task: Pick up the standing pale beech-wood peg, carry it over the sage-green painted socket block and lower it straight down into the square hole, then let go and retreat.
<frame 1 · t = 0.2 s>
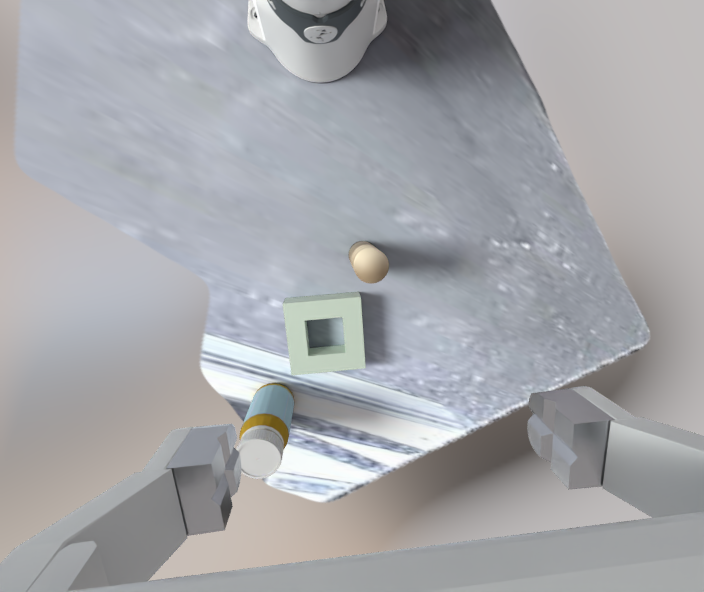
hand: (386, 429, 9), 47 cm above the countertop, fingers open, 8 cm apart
peg: (362, 254, 55), on the countertop
socket: (325, 329, 58), on the countertop
bottle: (274, 399, 61), on the countertop
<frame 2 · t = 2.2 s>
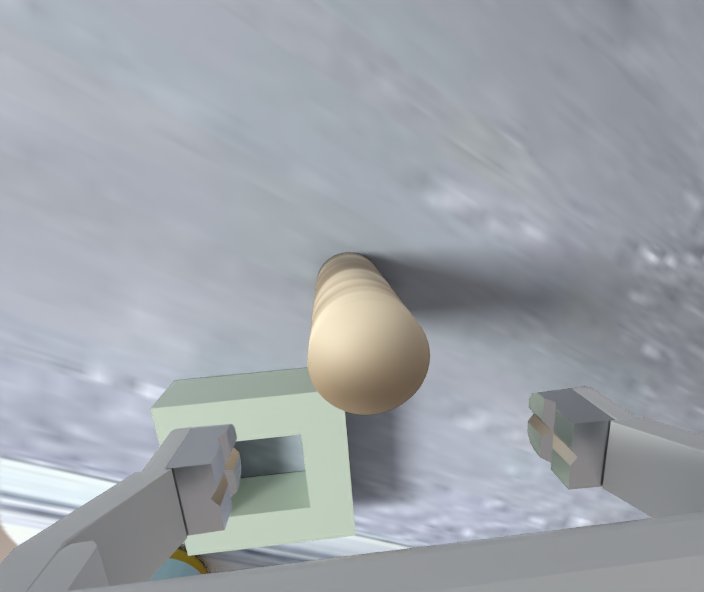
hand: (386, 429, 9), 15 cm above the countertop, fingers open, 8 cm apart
peg: (348, 284, 24), on the countertop
socket: (269, 442, 27), on the countertop
bottle: (170, 572, 30), on the countertop
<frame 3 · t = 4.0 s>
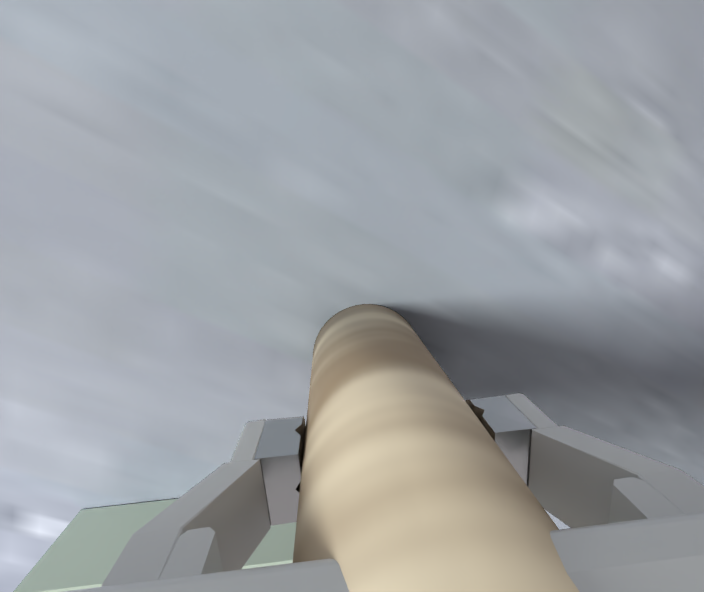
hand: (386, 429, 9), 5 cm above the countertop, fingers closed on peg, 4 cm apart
peg: (366, 355, 14), on the countertop, touching gripper
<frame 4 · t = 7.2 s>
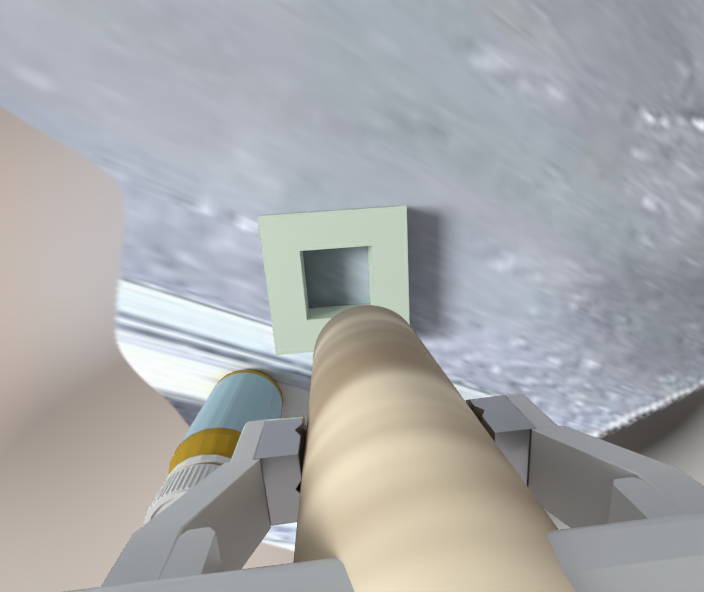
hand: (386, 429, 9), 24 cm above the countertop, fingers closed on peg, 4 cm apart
peg: (366, 356, 14), point 19 cm above the countertop, touching gripper
socket: (337, 275, 33), on the countertop
bottle: (249, 396, 36), on the countertop
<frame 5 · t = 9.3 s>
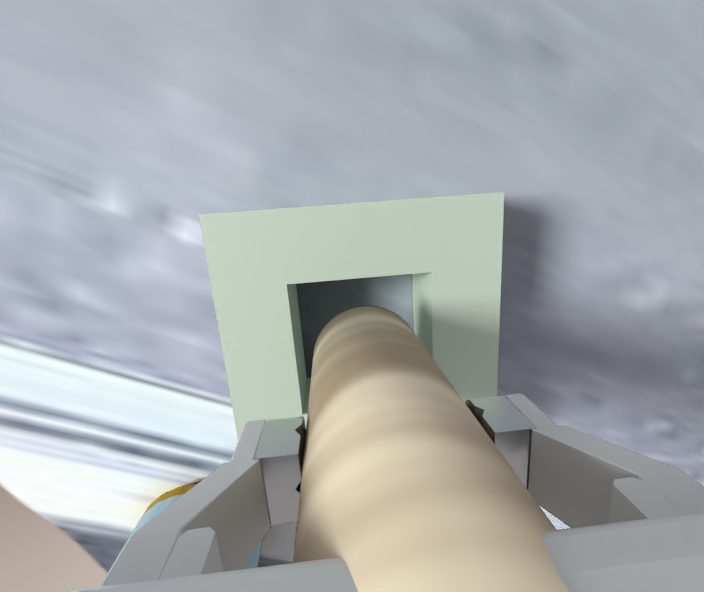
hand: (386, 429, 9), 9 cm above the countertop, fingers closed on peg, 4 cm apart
peg: (366, 356, 14), point 4 cm above the countertop, touching gripper
socket: (357, 320, 18), on the countertop
bottle: (207, 521, 21), on the countertop
when the fingers open (6 cm above the countertop, at t = 10.6 s): peg stays where it is, resting in socket.
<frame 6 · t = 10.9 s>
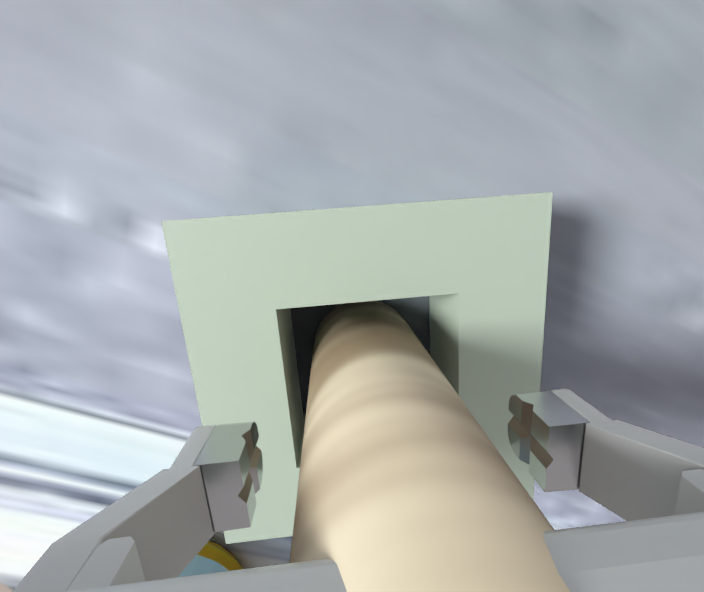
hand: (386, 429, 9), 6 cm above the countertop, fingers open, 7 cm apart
peg: (363, 347, 15), resting in socket
socket: (363, 346, 15), on the countertop
bottle: (186, 578, 18), on the countertop
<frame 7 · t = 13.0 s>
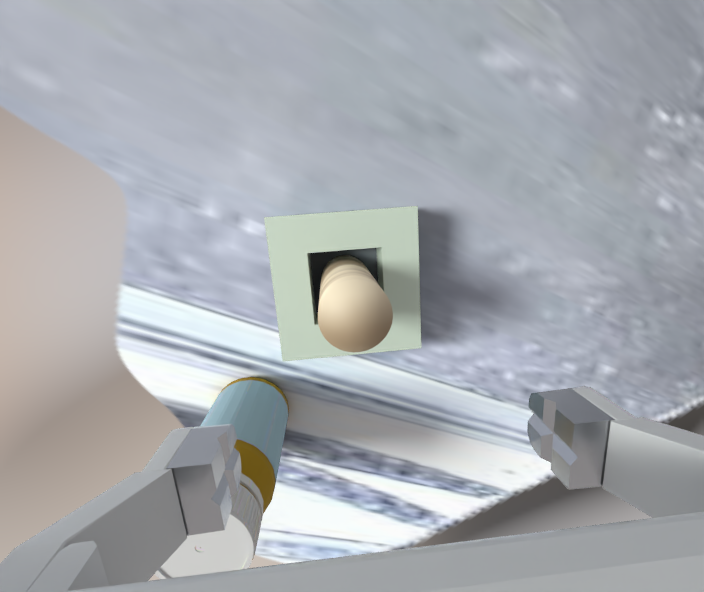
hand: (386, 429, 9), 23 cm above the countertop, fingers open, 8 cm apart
peg: (345, 279, 32), resting in socket
socket: (345, 278, 32), on the countertop
bottle: (254, 405, 34), on the countertop
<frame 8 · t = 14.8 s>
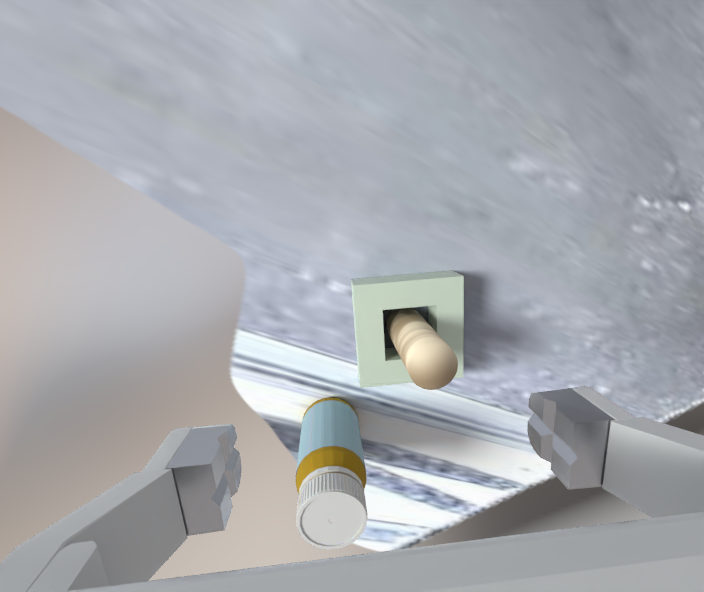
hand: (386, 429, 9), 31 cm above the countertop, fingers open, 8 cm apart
peg: (403, 323, 42), resting in socket
socket: (403, 323, 42), on the countertop
bottle: (330, 418, 45), on the countertop
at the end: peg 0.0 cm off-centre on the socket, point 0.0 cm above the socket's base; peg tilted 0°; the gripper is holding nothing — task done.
